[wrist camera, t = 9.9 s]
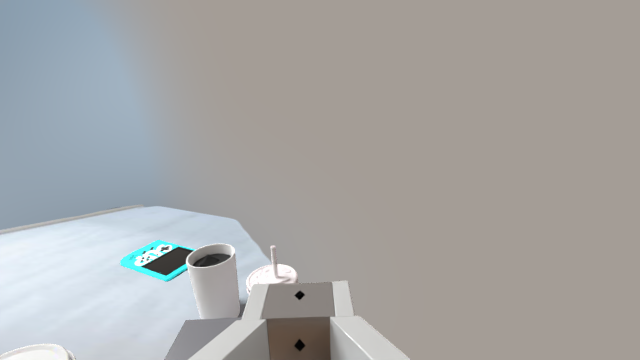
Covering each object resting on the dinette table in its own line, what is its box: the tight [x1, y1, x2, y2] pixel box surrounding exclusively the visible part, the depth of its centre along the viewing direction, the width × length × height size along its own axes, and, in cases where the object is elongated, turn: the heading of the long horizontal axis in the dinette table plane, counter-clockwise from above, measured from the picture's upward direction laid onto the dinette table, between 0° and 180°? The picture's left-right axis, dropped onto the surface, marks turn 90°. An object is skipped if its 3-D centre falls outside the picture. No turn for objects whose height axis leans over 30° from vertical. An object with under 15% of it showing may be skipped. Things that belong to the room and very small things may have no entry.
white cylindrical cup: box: [186, 244, 240, 319], centre depth 45 cm, size 7×7×10 cm
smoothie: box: [246, 246, 298, 294], centre depth 38 cm, size 6×6×14 cm
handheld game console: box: [120, 240, 195, 281], centre depth 62 cm, size 10×16×1 cm, turn 63°
